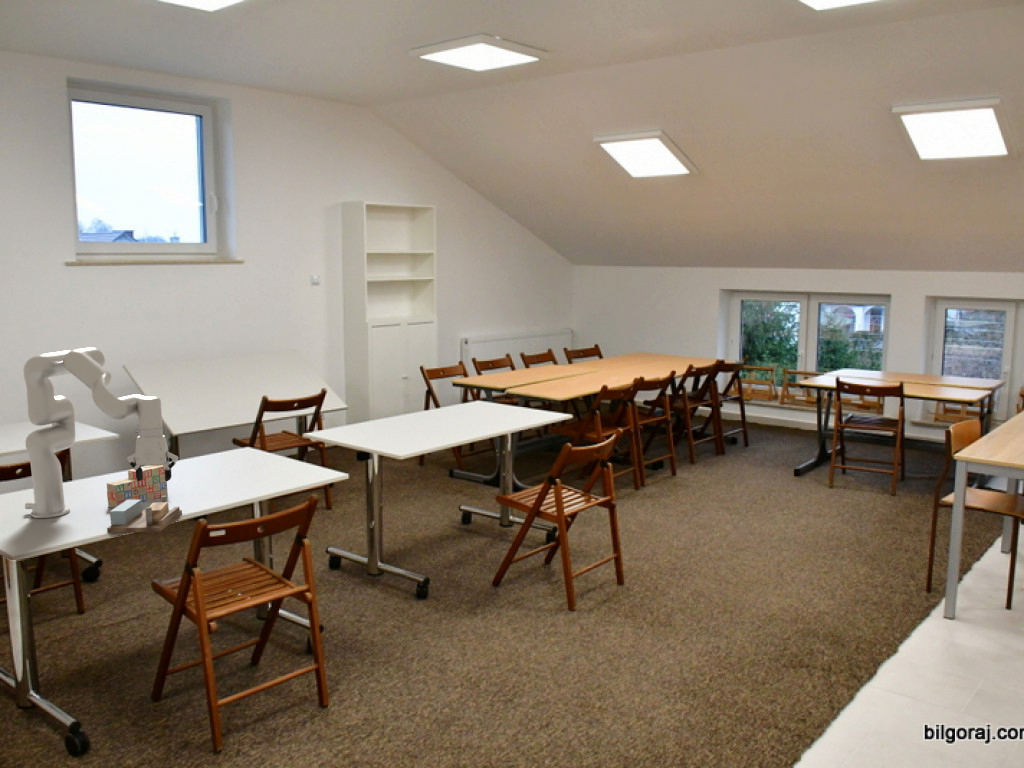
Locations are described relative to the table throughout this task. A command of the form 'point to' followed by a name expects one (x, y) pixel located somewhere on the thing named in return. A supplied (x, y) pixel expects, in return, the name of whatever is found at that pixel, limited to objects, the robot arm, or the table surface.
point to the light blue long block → (125, 512)
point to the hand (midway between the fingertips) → (154, 480)
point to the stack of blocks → (138, 486)
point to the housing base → (142, 523)
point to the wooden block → (159, 510)
